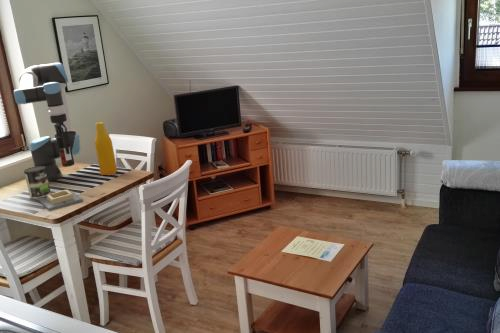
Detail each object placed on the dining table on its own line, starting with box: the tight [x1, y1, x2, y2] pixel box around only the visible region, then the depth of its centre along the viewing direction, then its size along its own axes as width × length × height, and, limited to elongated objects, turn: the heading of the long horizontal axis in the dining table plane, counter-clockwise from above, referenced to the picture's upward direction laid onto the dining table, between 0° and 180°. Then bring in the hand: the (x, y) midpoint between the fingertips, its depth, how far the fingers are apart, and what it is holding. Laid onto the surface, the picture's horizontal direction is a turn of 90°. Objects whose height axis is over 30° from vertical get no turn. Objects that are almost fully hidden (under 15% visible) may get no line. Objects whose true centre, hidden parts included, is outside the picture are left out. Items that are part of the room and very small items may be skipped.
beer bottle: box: [94, 121, 118, 176], centre depth 287 cm, size 9×9×29 cm
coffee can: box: [23, 166, 52, 200], centre depth 263 cm, size 10×10×14 cm
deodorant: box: [56, 135, 75, 168], centre depth 261 cm, size 6×6×15 cm
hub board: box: [38, 189, 84, 212], centre depth 251 cm, size 18×16×4 cm
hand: (67, 158), depth 263 cm, fingers closed on deodorant, 6 cm apart
